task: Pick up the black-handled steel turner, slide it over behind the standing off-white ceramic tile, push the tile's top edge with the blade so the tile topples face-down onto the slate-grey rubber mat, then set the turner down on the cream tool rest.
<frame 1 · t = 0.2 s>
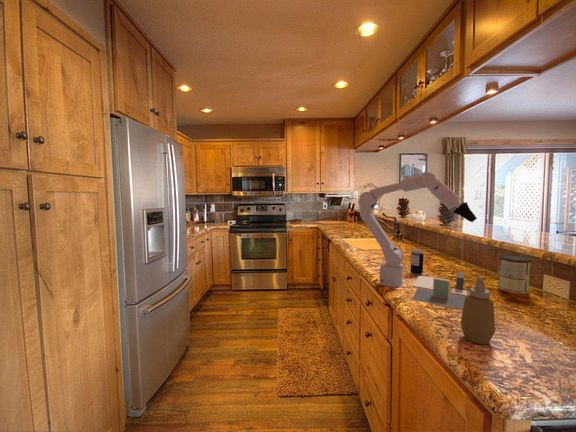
hand: (473, 220, 106), 31 cm above the worktop, tool tilted 45°, fingers open, 7 cm apart
turner: (459, 291, 115), on the worktop
tool rest: (425, 284, 124), on the worktop
beverage can: (416, 274, 140), on the worktop
mat: (441, 300, 106), on the worktop
tile: (440, 296, 108), point 1 cm above the worktop, touching mat
coffee can: (512, 290, 118), on the worktop
squeeze bottle: (476, 340, 78), on the worktop
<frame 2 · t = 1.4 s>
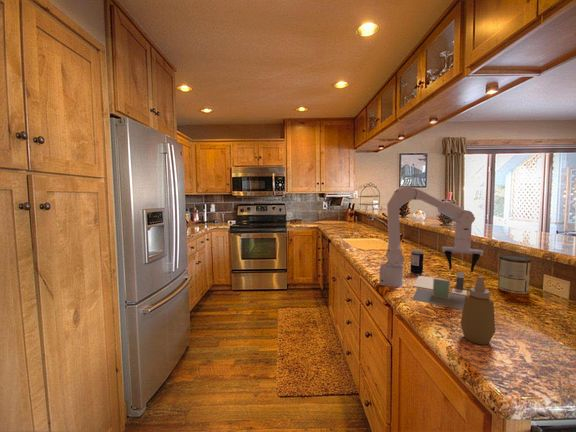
hand: (460, 270, 117), 8 cm above the worktop, tool pointing down, fingers open, 7 cm apart
nothing on the worktop moved.
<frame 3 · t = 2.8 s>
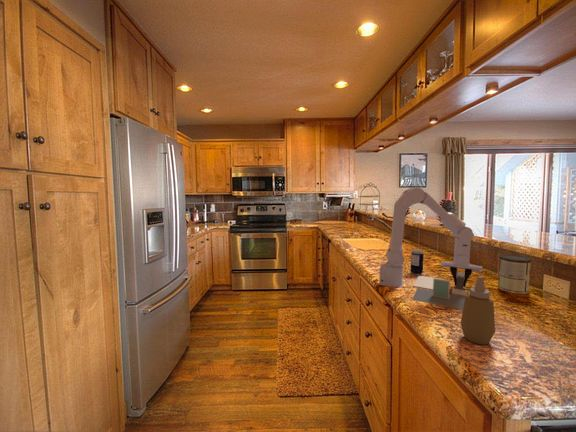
hand: (459, 285, 118), 2 cm above the worktop, tool pointing down, fingers closed on turner, 2 cm apart
turner: (459, 291, 115), on the worktop, touching gripper
everything else where it was.
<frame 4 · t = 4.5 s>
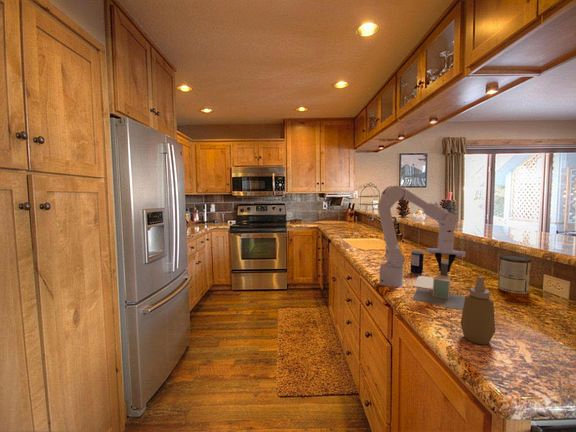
hand: (444, 270, 120), 7 cm above the worktop, tool pointing down, fingers closed on turner, 2 cm apart
turner: (443, 277, 118), point 5 cm above the worktop, touching gripper
everything else where it was.
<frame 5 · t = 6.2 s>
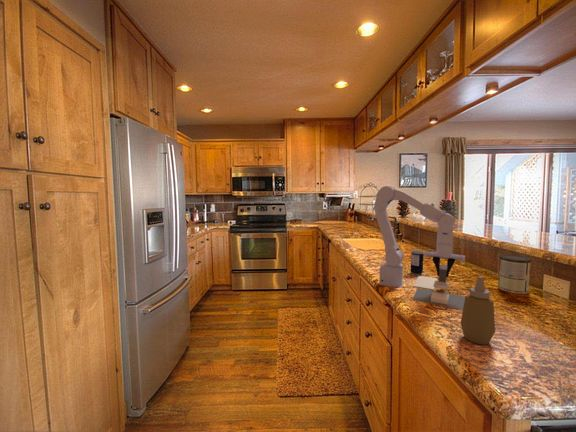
hand: (442, 275, 113), 7 cm above the worktop, tool pointing down, fingers closed on turner, 2 cm apart
turner: (442, 284, 111), point 5 cm above the worktop, touching gripper
tile: (440, 295, 107), point 1 cm above the worktop, tilted 90°, touching mat
everything else where it was.
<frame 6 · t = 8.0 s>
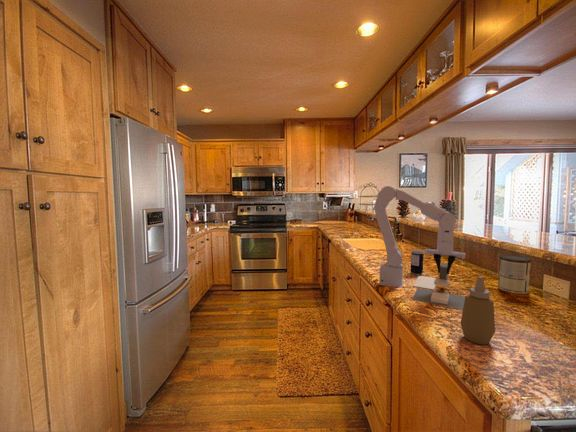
hand: (443, 272, 115), 8 cm above the worktop, tool pointing down, fingers closed on turner, 2 cm apart
turner: (442, 281, 113), point 5 cm above the worktop, touching gripper
everything else where it was.
when the fingers open (4 cm above the worktop, at t = 9.8 s): turner stays where it is, resting on tool rest.
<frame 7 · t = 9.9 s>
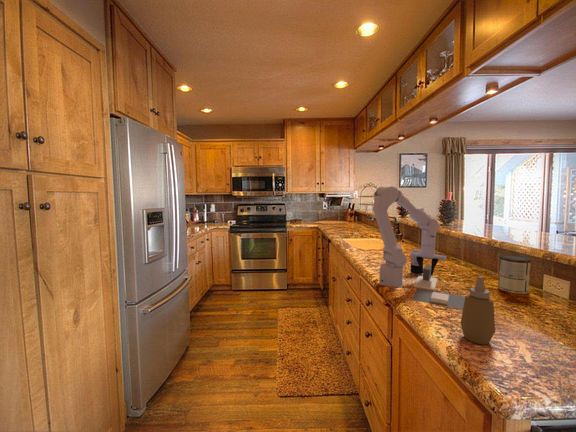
hand: (426, 274, 126), 4 cm above the worktop, tool pointing down, fingers open, 3 cm apart
turner: (425, 282, 124), point 1 cm above the worktop, touching tool rest
everything else where it was.
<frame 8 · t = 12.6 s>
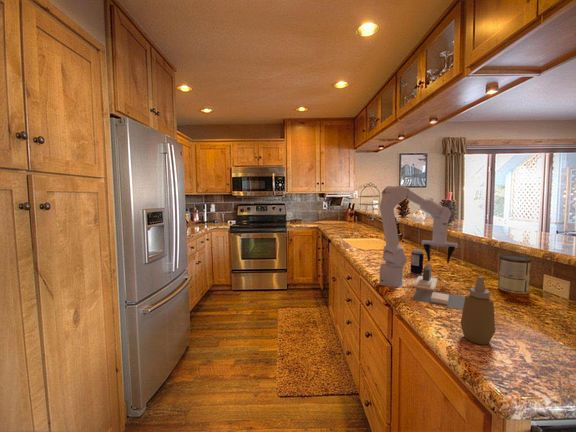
hand: (438, 261, 127), 9 cm above the worktop, tool pointing down, fingers open, 7 cm apart
nothing on the worktop moved.
at the end: tile tilted 90°; tile inside the target area (0.1 cm from its centre), point 1.5 cm above the worktop; turner inside the target area (0.2 cm from its centre), point 1.0 cm above the worktop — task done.
